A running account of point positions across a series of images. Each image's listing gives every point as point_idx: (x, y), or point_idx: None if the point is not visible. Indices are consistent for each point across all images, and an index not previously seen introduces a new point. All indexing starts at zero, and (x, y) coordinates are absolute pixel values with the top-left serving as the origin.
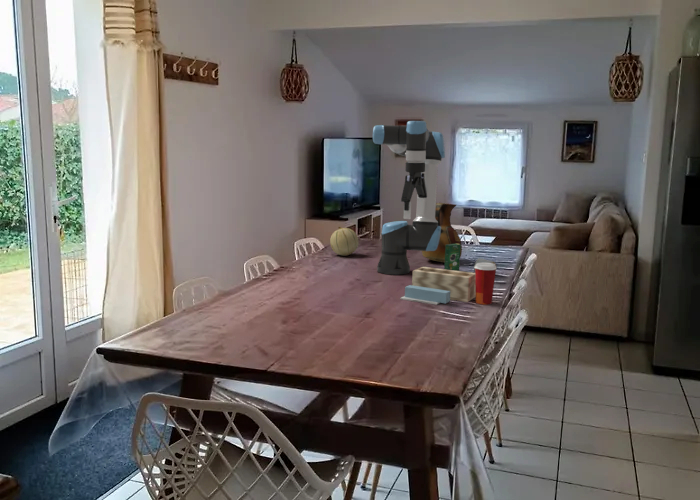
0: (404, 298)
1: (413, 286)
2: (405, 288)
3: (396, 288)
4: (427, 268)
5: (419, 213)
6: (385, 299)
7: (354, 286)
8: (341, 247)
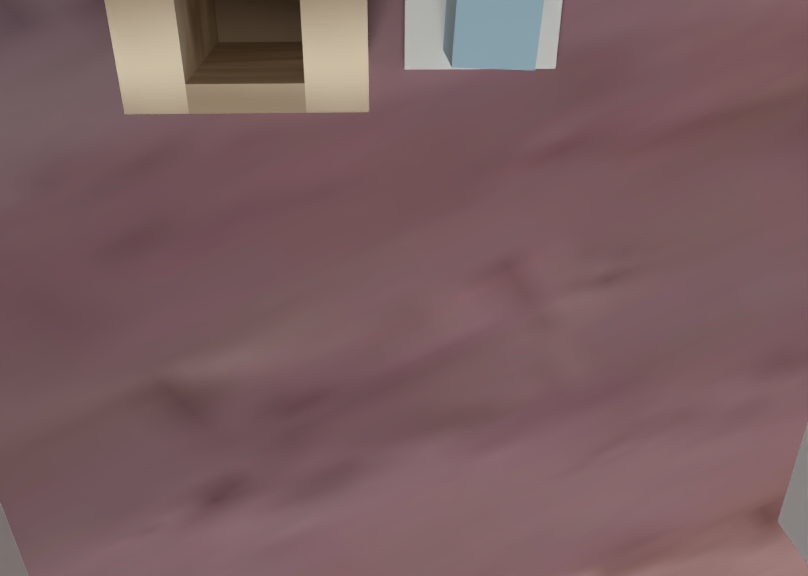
0: (557, 36)
1: (484, 17)
2: (532, 63)
3: (275, 224)
4: (172, 32)
5: (7, 549)
6: (600, 152)
7: (386, 437)
8: None
